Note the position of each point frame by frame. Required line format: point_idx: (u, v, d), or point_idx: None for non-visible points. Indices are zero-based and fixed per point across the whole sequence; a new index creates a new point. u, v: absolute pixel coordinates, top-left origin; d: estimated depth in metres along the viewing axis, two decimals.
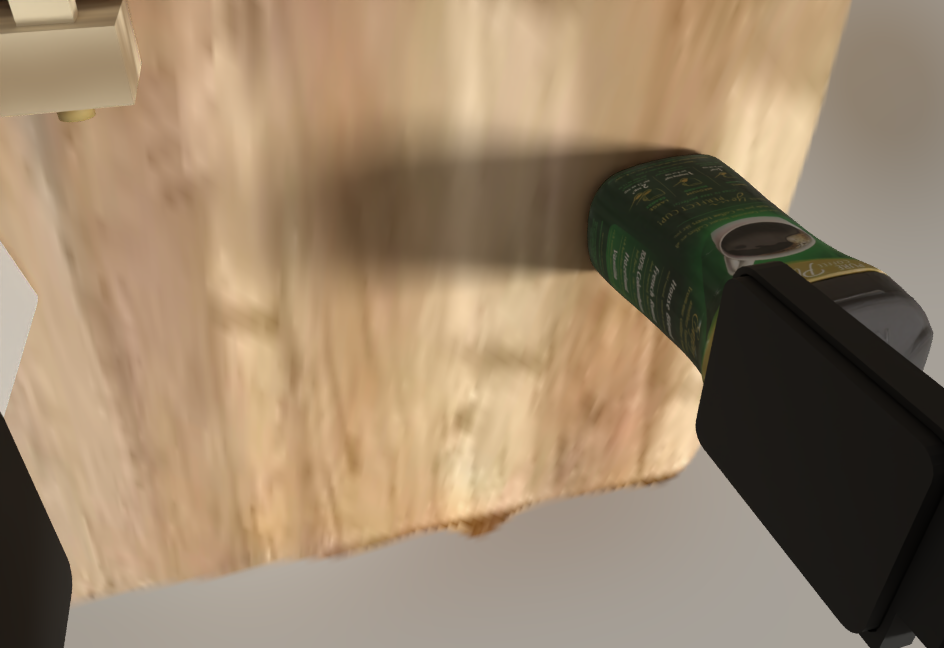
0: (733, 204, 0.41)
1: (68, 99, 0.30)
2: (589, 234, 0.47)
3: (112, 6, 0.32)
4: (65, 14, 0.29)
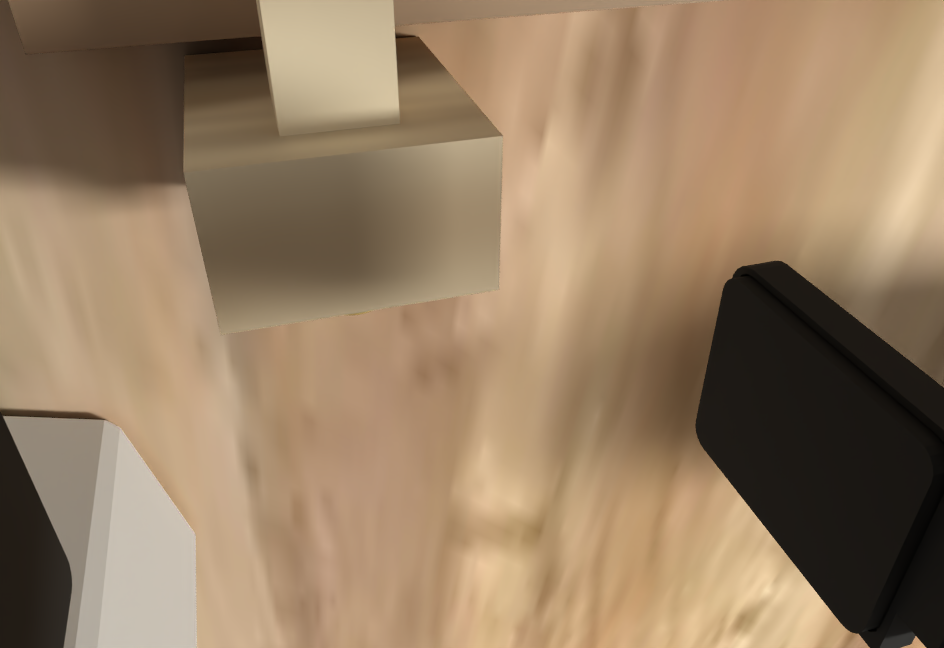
0: None
1: (375, 289, 0.14)
2: None
3: (433, 73, 0.15)
4: (385, 107, 0.13)
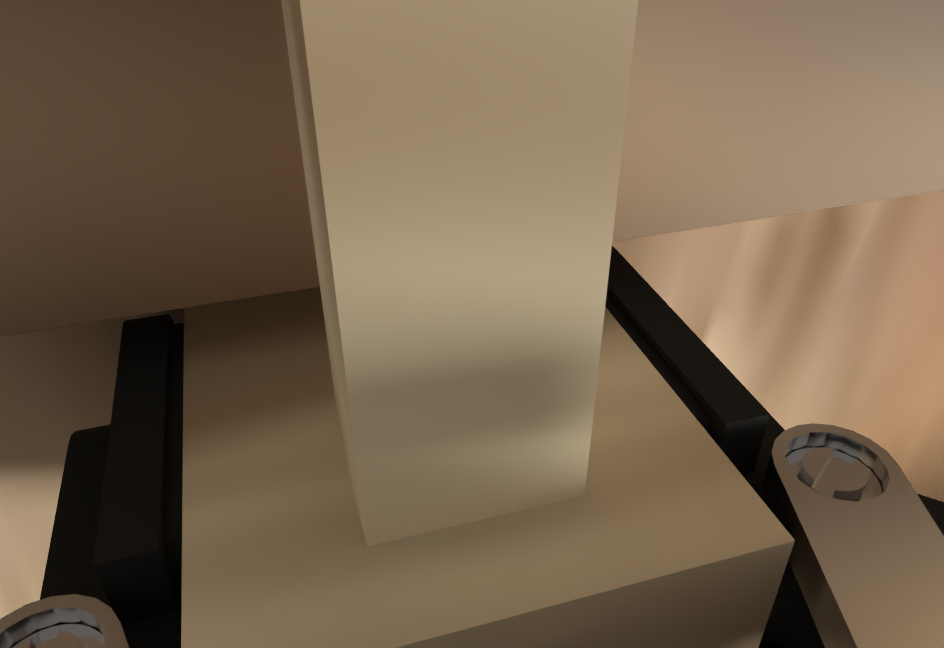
0: None
1: None
2: None
3: None
4: (563, 475, 0.07)
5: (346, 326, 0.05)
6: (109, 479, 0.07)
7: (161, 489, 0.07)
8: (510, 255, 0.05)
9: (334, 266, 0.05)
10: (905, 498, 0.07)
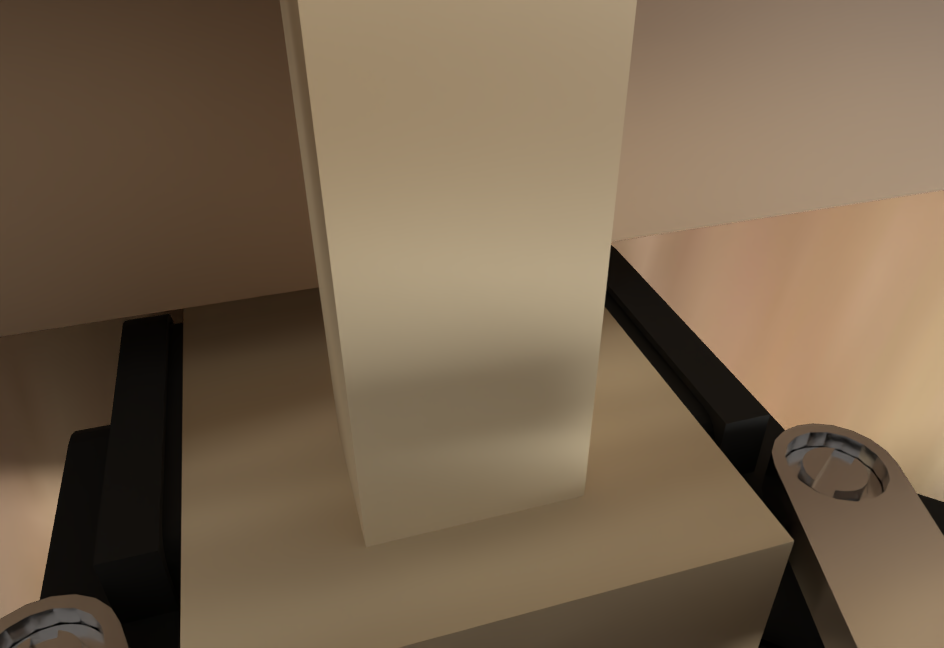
0: None
1: None
2: None
3: None
4: (562, 476, 0.07)
5: (346, 328, 0.05)
6: (109, 479, 0.07)
7: (160, 489, 0.07)
8: (510, 256, 0.05)
9: (333, 267, 0.05)
10: (906, 498, 0.07)
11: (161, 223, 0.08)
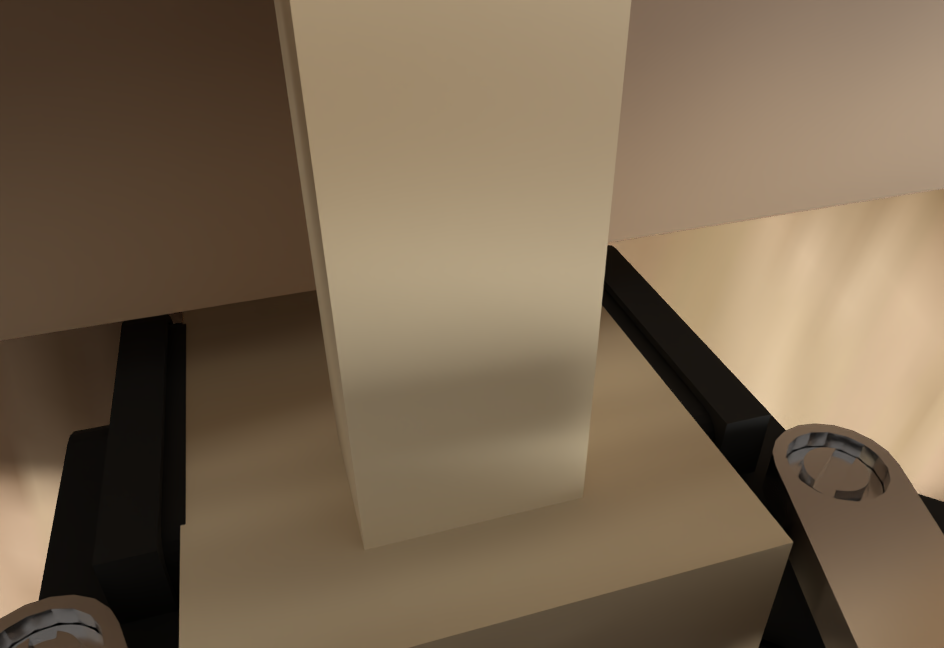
0: None
1: None
2: None
3: None
4: (561, 478, 0.07)
5: (343, 332, 0.05)
6: (108, 479, 0.07)
7: (160, 490, 0.07)
8: (505, 259, 0.05)
9: (328, 271, 0.05)
10: (906, 498, 0.07)
11: None
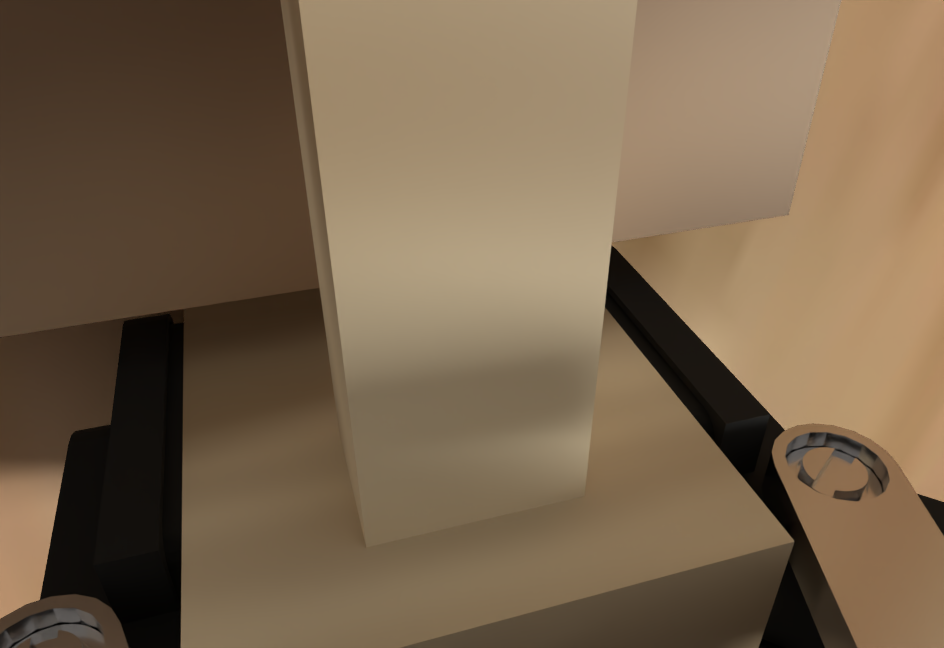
0: None
1: None
2: None
3: None
4: (563, 476, 0.07)
5: (346, 328, 0.05)
6: (108, 479, 0.07)
7: (160, 490, 0.07)
8: (510, 256, 0.05)
9: (333, 267, 0.05)
10: (906, 498, 0.07)
11: None
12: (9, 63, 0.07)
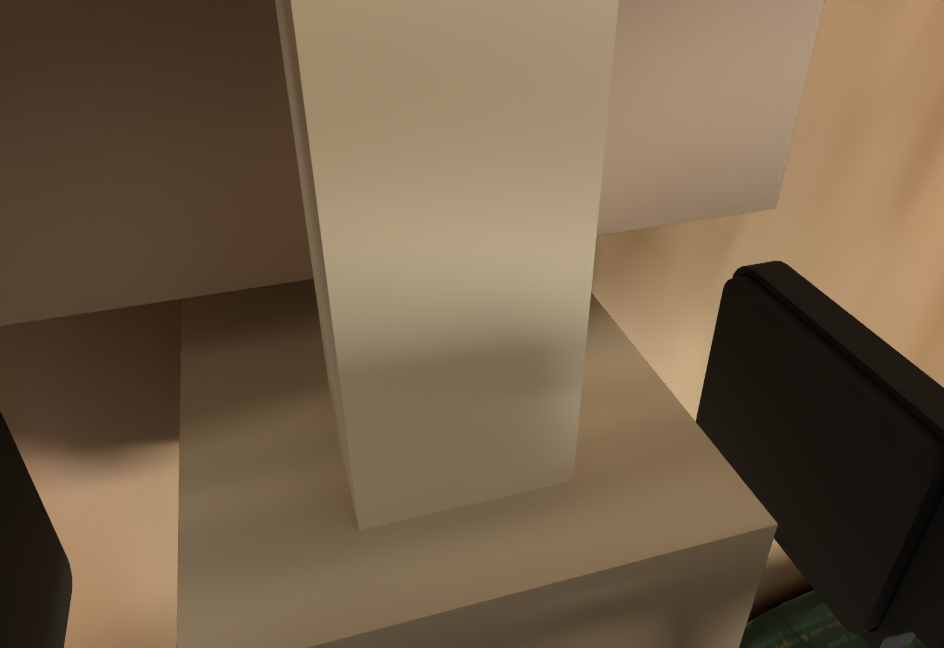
0: None
1: None
2: None
3: None
4: (552, 461, 0.07)
5: (338, 312, 0.06)
6: None
7: None
8: (498, 242, 0.06)
9: (325, 253, 0.05)
10: None
11: None
12: (6, 56, 0.07)
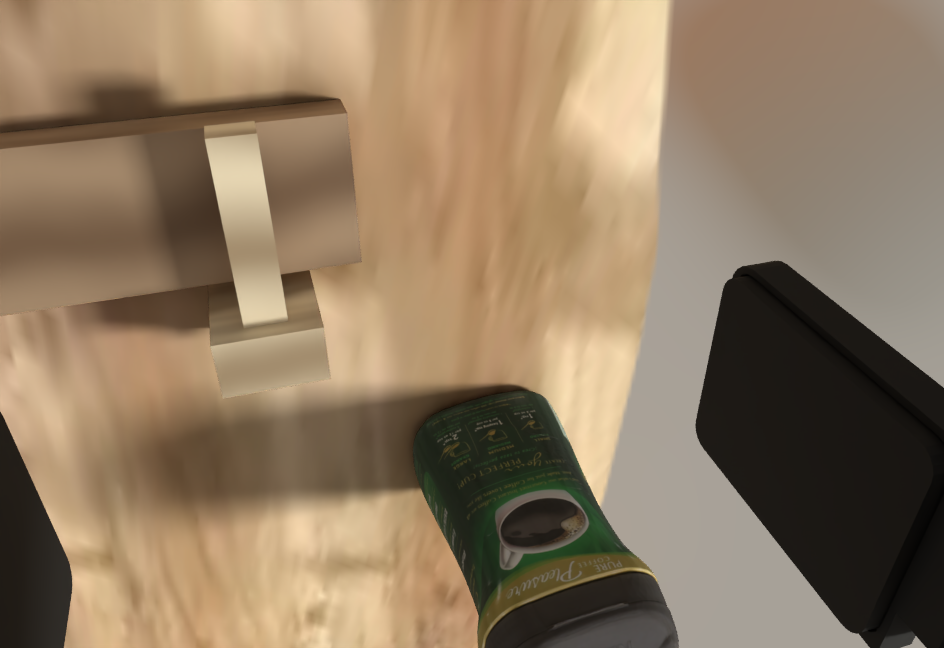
0: (527, 471, 0.43)
1: (280, 380, 0.37)
2: (414, 466, 0.49)
3: (307, 290, 0.38)
4: (282, 316, 0.36)
5: (236, 286, 0.34)
6: None
7: None
8: (262, 274, 0.34)
9: (233, 276, 0.34)
10: None
11: None
12: (177, 238, 0.36)
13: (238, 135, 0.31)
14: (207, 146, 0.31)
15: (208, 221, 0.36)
